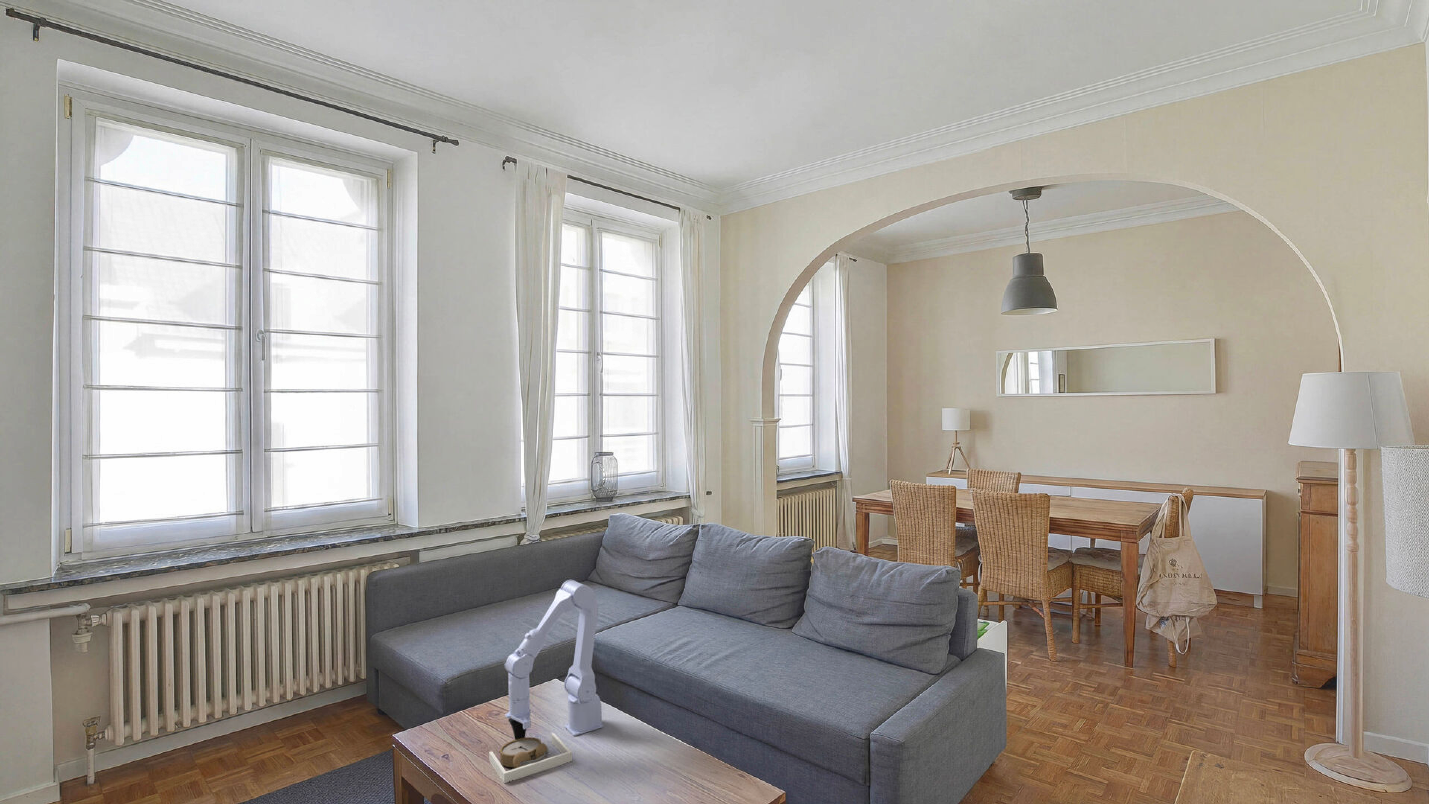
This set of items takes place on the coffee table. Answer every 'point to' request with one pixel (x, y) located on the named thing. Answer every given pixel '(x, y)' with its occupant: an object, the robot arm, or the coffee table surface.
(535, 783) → the coffee table surface
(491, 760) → the clock dock
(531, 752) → the alarm clock
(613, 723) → the coffee table surface
